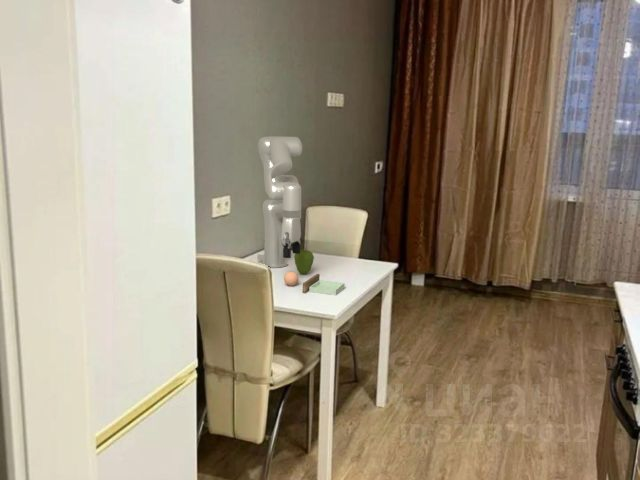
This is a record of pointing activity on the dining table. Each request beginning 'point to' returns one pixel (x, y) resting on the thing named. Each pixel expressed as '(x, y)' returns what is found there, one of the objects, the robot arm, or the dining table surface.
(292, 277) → the ball
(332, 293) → the tray
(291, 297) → the dining table surface
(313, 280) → the board
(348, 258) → the dining table surface
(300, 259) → the apple
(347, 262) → the dining table surface
